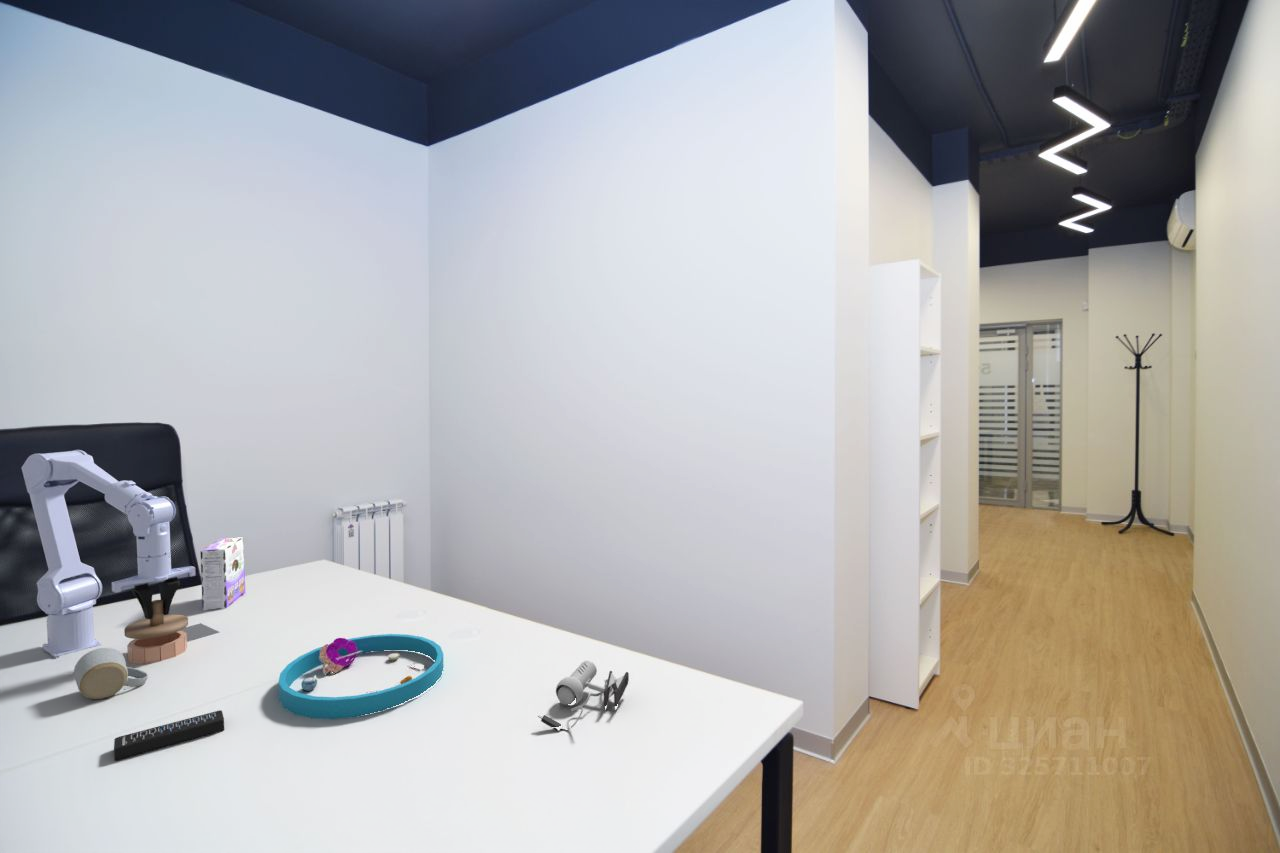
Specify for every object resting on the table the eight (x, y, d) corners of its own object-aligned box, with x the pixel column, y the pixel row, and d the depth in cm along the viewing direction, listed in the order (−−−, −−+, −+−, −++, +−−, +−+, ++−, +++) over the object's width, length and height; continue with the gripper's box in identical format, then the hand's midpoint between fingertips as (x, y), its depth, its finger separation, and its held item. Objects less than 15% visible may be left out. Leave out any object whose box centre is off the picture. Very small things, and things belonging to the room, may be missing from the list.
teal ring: (381, 640, 147) (381, 616, 146) (474, 670, 131) (474, 643, 131) (246, 694, 121) (245, 664, 121) (342, 739, 106) (341, 705, 105)
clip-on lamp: (586, 757, 105) (634, 689, 121) (584, 726, 103) (633, 661, 119) (528, 733, 110) (581, 671, 126) (526, 704, 108) (580, 644, 124)
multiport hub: (224, 732, 107) (224, 719, 107) (114, 764, 98) (113, 749, 98) (222, 721, 111) (221, 709, 110) (115, 751, 102) (114, 737, 101)
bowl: (121, 657, 136) (120, 641, 135) (175, 642, 144) (174, 627, 144) (139, 669, 130) (139, 652, 130) (194, 652, 139) (194, 636, 138)
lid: (117, 629, 136) (117, 602, 135) (178, 615, 145) (177, 589, 144) (133, 643, 129) (132, 615, 129) (195, 627, 138) (194, 601, 137)
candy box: (222, 595, 177) (220, 537, 176) (246, 593, 178) (244, 536, 177) (201, 612, 163) (198, 549, 162) (226, 610, 165) (224, 548, 164)
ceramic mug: (79, 707, 115) (78, 666, 114) (74, 692, 120) (73, 653, 120) (151, 688, 122) (151, 650, 122) (143, 675, 128) (143, 638, 128)
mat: (152, 638, 146) (152, 636, 146) (200, 624, 155) (200, 623, 154) (170, 648, 141) (170, 646, 141) (219, 633, 149) (219, 632, 149)
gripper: (119, 565, 127) (122, 630, 128) (200, 549, 140) (202, 609, 140) (106, 559, 131) (109, 623, 132) (186, 545, 143) (188, 603, 144)
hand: (156, 615), depth 137 cm, fingers closed on lid, 2 cm apart
